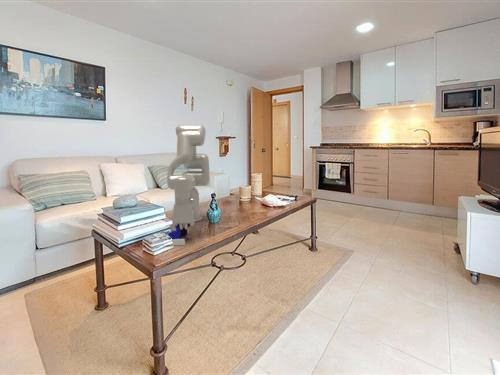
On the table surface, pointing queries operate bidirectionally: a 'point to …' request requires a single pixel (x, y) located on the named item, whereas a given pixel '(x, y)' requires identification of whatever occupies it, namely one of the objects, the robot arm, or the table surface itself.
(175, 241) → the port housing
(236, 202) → the table surface
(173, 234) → the cable clip
